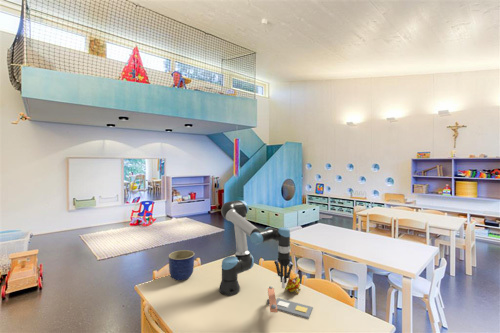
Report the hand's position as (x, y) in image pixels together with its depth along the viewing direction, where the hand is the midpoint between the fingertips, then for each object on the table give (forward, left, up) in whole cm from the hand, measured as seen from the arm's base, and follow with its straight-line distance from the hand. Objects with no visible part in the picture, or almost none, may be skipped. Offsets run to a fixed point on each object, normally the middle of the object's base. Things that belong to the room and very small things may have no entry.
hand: (283, 287), depth 163 cm
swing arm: (-4, -10, -11) cm, 16 cm away
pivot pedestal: (-9, 0, -12) cm, 15 cm away
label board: (+6, 0, -12) cm, 14 cm away
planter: (-87, 0, -13) cm, 88 cm away
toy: (0, +22, -13) cm, 25 cm away
